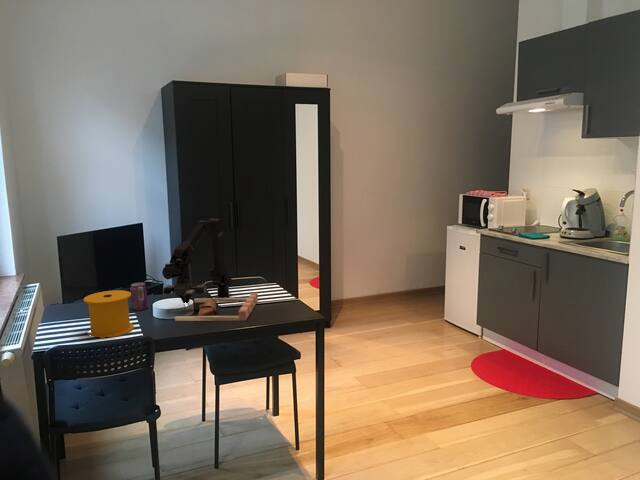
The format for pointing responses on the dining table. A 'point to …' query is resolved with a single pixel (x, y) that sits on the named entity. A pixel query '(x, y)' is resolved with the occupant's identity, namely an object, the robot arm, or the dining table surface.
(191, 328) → the dining table surface
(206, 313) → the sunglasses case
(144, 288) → the beverage can
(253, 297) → the guide channel
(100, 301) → the spool
